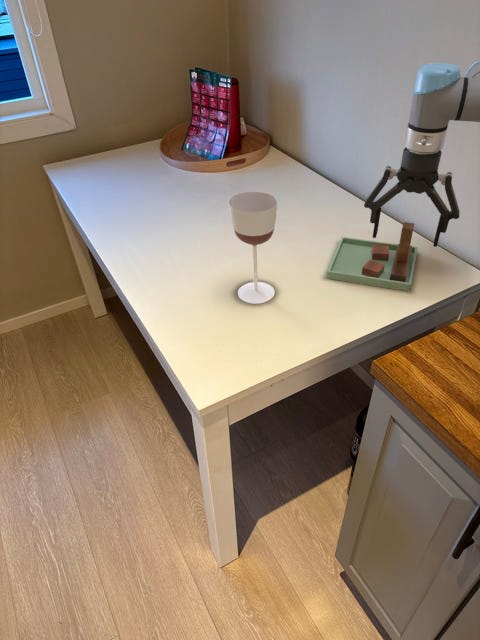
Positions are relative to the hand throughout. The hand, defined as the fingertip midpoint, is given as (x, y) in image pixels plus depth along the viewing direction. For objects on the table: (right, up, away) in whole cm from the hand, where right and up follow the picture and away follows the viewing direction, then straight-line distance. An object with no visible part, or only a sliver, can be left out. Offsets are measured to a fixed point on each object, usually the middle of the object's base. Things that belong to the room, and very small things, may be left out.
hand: (404, 239), depth 113 cm
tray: (-5, -5, +7) cm, 10 cm away
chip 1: (-3, -3, +9) cm, 10 cm away
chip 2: (-6, -7, +4) cm, 11 cm away
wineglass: (-35, -12, +1) cm, 37 cm away
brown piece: (+1, -6, +5) cm, 8 cm away
